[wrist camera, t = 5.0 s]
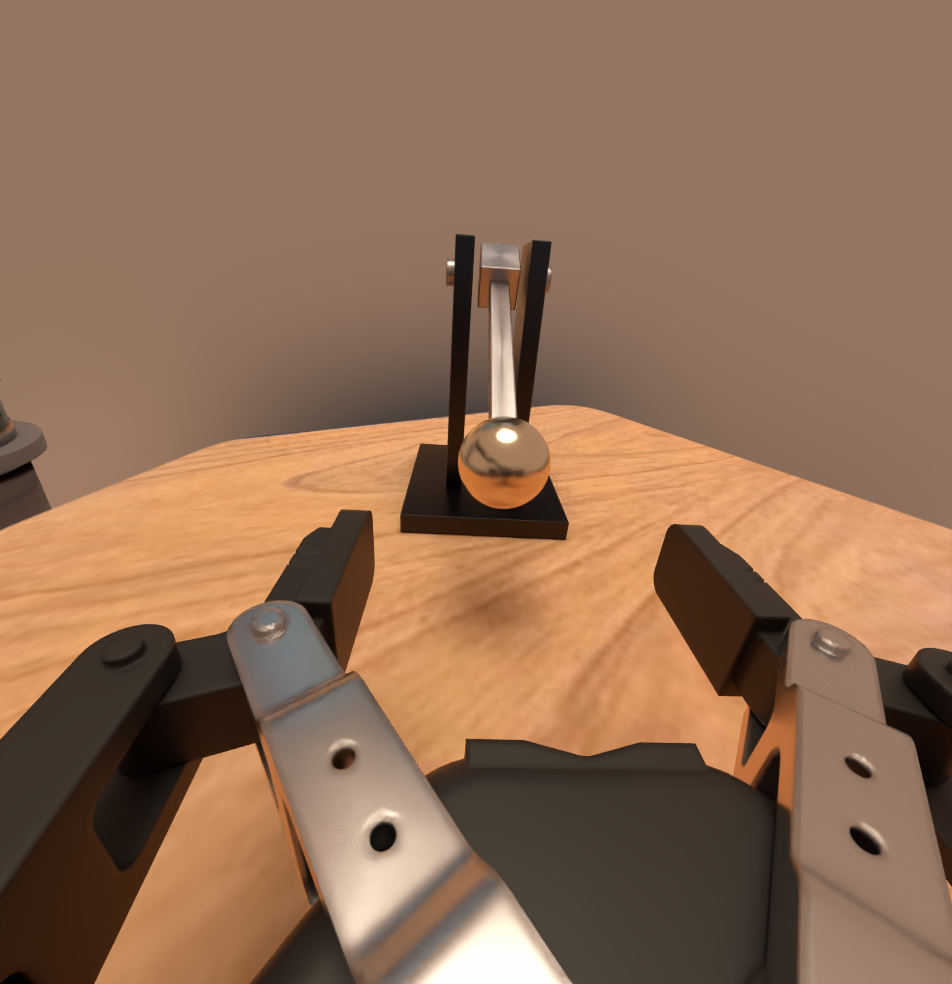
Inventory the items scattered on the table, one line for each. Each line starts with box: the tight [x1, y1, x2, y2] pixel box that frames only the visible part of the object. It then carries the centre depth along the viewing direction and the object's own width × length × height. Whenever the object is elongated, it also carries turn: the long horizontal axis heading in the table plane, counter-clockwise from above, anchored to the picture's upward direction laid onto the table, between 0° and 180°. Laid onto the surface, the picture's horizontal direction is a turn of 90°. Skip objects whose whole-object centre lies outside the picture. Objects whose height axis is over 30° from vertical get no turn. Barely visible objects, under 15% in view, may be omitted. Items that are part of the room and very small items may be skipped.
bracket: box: [400, 234, 569, 539], centre depth 28 cm, size 12×10×16 cm
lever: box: [458, 243, 550, 509], centre depth 21 cm, size 17×4×4 cm, turn 1°
